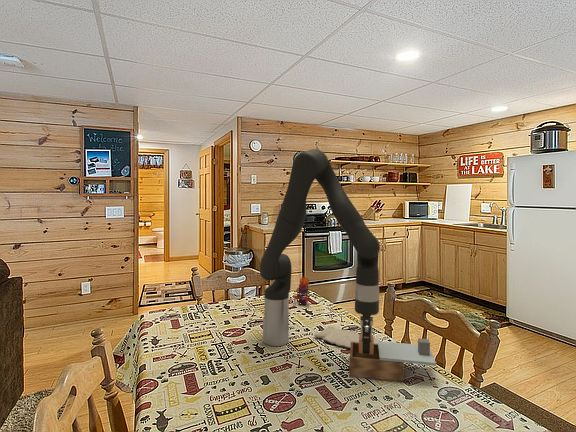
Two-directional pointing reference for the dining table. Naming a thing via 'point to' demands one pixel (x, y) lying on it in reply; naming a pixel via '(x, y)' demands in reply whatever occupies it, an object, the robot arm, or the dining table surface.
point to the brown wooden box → (373, 366)
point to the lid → (407, 352)
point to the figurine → (302, 292)
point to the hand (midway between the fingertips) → (365, 349)
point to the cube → (362, 344)
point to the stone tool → (340, 336)
